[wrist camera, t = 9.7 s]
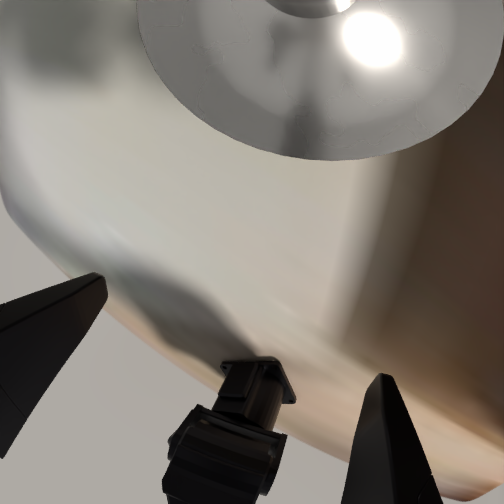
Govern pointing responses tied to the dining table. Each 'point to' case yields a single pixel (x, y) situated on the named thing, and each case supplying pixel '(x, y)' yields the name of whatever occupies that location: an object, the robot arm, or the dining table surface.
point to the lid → (324, 68)
